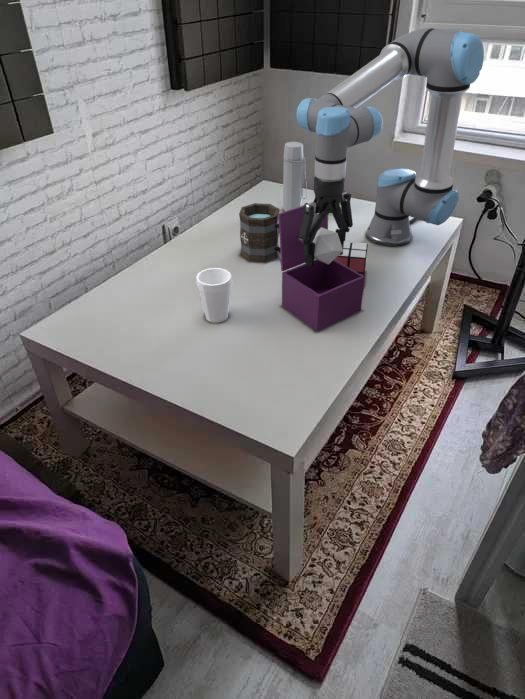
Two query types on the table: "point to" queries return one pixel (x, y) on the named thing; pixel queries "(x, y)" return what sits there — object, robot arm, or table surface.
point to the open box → (322, 293)
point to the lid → (293, 237)
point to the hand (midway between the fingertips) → (324, 258)
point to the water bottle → (293, 175)
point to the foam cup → (215, 293)
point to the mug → (259, 232)
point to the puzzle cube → (354, 256)
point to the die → (327, 245)
